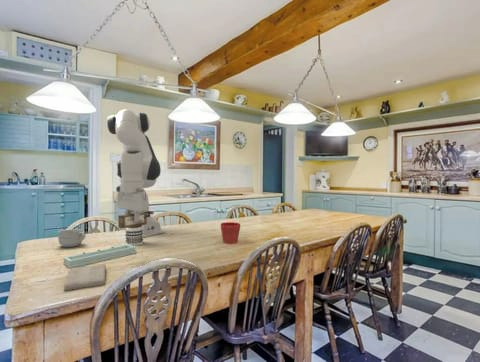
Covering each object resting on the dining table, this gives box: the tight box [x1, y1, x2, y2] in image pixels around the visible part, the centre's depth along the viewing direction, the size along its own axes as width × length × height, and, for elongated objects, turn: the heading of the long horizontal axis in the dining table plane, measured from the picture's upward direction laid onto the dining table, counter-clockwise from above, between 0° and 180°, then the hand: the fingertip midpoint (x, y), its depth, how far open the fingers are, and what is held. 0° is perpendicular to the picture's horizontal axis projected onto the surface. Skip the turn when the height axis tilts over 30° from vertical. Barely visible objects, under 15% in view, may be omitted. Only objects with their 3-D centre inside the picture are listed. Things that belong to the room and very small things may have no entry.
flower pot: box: [220, 221, 241, 244], centre depth 148 cm, size 11×11×10 cm
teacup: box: [57, 228, 86, 248], centre depth 138 cm, size 14×11×8 cm
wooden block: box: [117, 212, 147, 229], centre depth 117 cm, size 11×3×5 cm, turn 139°
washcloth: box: [63, 263, 107, 291], centre depth 96 cm, size 12×18×3 cm, turn 26°
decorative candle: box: [124, 209, 144, 247], centre depth 144 cm, size 9×9×25 cm
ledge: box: [63, 244, 137, 269], centre depth 119 cm, size 27×8×3 cm, turn 139°
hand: (133, 220), depth 117 cm, fingers closed on wooden block, 3 cm apart
